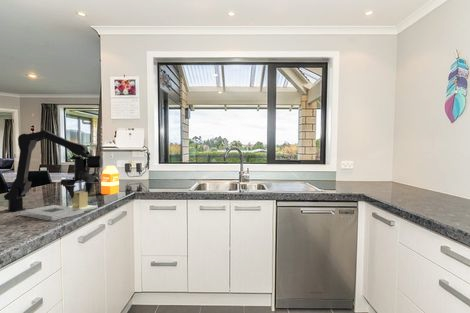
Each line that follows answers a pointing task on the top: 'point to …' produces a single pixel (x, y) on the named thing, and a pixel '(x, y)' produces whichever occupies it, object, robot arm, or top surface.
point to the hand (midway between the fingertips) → (80, 196)
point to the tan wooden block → (80, 199)
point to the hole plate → (52, 212)
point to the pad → (86, 207)
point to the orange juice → (110, 180)
